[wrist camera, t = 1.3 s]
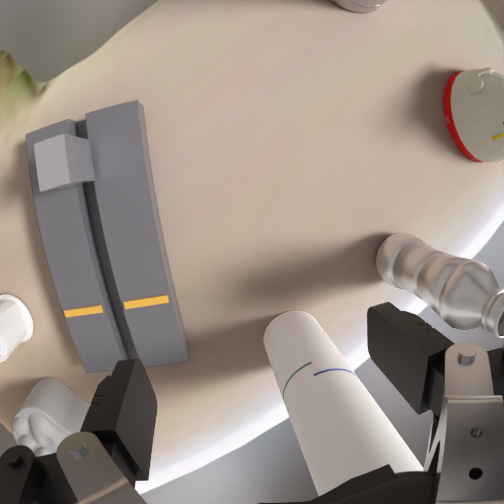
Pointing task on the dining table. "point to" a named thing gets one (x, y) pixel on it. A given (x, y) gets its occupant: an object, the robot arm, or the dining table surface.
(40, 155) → the fader knob
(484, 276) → the plastic bottle
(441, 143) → the dining table surface
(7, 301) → the downlight
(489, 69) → the kitchen timer
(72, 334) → the fader console
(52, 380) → the lumpy-topped squat cylinder
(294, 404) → the cylindrical container
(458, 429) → the robot arm
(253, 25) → the dining table surface
